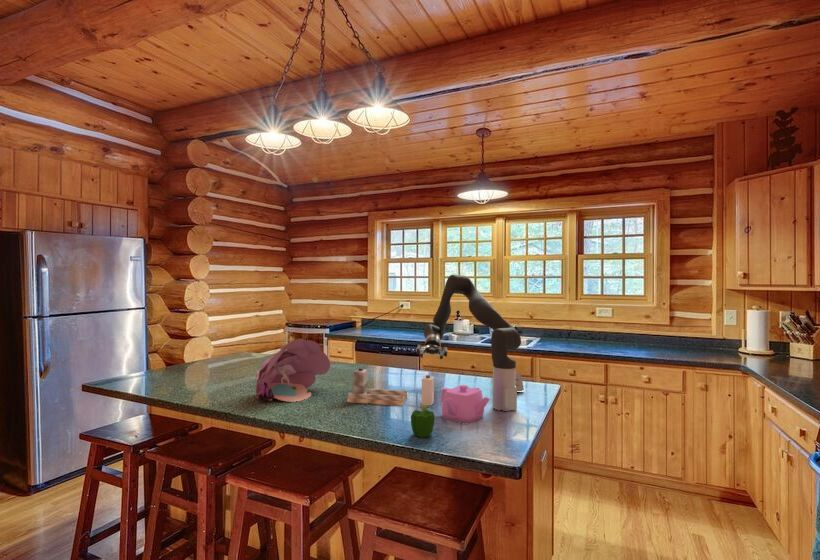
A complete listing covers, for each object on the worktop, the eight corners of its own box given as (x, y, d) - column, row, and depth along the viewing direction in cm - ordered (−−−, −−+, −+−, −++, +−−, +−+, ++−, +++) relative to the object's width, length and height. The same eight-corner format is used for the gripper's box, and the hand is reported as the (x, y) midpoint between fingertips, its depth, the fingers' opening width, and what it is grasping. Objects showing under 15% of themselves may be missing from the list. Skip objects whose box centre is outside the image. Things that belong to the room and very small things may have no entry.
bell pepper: (414, 440, 141) (414, 410, 141) (407, 432, 149) (408, 403, 149) (438, 438, 143) (438, 408, 143) (430, 430, 151) (431, 401, 151)
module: (433, 401, 187) (434, 374, 187) (431, 405, 181) (432, 377, 181) (423, 401, 188) (423, 373, 188) (421, 405, 182) (421, 376, 182)
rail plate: (407, 398, 192) (407, 367, 192) (402, 405, 180) (402, 373, 180) (355, 394, 196) (356, 365, 197) (347, 402, 185) (347, 370, 185)
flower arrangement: (285, 420, 175) (294, 354, 171) (237, 403, 182) (245, 340, 177) (327, 391, 208) (335, 335, 204) (285, 377, 215) (292, 323, 210)
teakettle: (478, 410, 176) (478, 380, 176) (490, 424, 159) (491, 390, 159) (437, 411, 174) (437, 380, 174) (445, 425, 157) (446, 391, 157)
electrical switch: (508, 394, 201) (507, 374, 202) (501, 392, 205) (500, 373, 206) (524, 392, 205) (523, 372, 206) (517, 391, 209) (516, 371, 210)
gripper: (418, 335, 209) (416, 347, 193) (447, 337, 208) (447, 350, 192) (417, 349, 211) (415, 363, 195) (446, 352, 210) (446, 365, 194)
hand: (431, 356), depth 194 cm, fingers open, 8 cm apart
